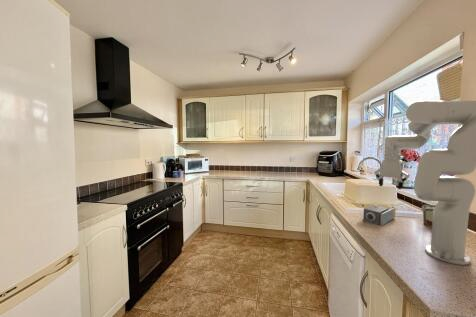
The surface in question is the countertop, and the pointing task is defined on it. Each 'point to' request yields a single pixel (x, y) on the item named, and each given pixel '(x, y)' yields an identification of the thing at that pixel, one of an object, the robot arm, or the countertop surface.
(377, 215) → the camera housing
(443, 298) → the countertop surface
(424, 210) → the food container
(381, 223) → the side door
